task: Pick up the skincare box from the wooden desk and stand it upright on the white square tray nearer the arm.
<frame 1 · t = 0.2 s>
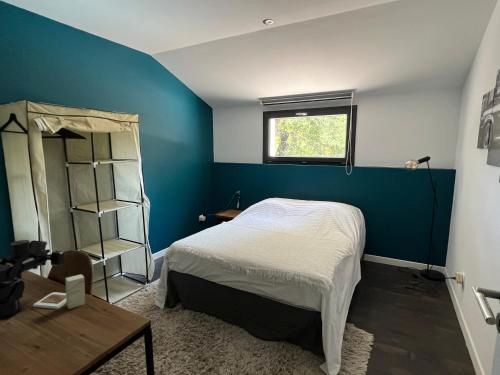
hand: (58, 251, 130), 17 cm above the table, tool horizontal, fingers open, 9 cm apart
white square tray: (55, 301, 117), on the table
skincare box: (76, 304, 115), on the table
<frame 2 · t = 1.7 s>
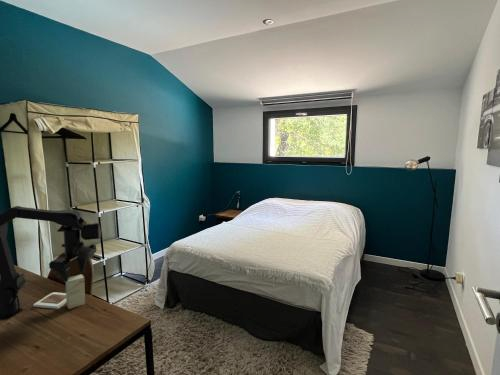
hand: (74, 276, 114), 13 cm above the table, tool pointing down, fingers open, 9 cm apart
nothing on the table moved.
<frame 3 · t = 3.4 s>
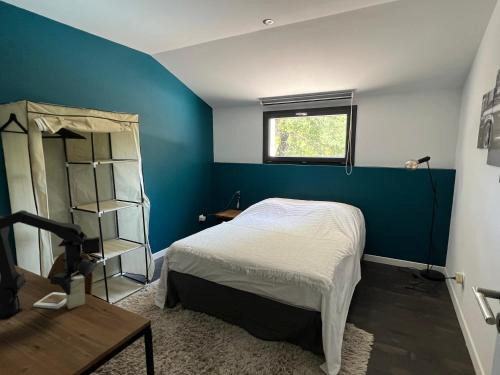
hand: (75, 290, 114), 7 cm above the table, tool pointing down, fingers closed on skincare box, 7 cm apart
skincare box: (76, 304, 115), on the table, touching gripper
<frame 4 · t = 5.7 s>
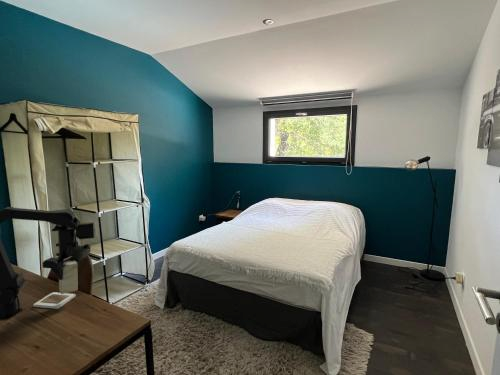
hand: (68, 275, 114), 13 cm above the table, tool pointing down, fingers closed on skincare box, 7 cm apart
skincare box: (68, 290, 115), point 6 cm above the table, touching gripper
when the fingers open (9 cm above the table, at t = 8.2 s): skincare box drops 1 cm, resting on white square tray.
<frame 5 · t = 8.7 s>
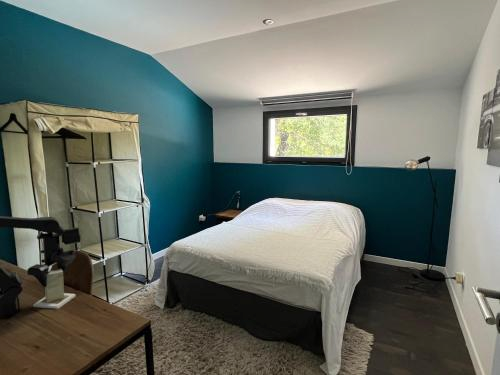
hand: (53, 281, 116), 9 cm above the table, tool pointing down, fingers open, 9 cm apart
skincare box: (55, 298, 117), point 1 cm above the table, touching white square tray
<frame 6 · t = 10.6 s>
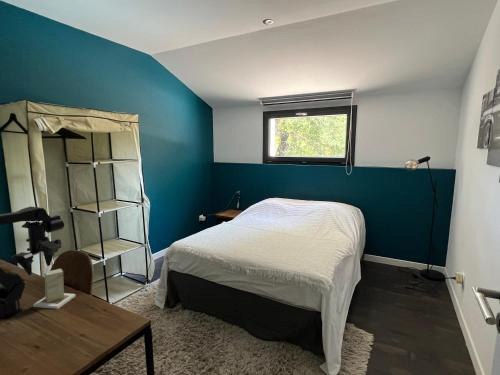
hand: (39, 270, 118), 13 cm above the table, tool pointing down, fingers open, 9 cm apart
nothing on the table moved.
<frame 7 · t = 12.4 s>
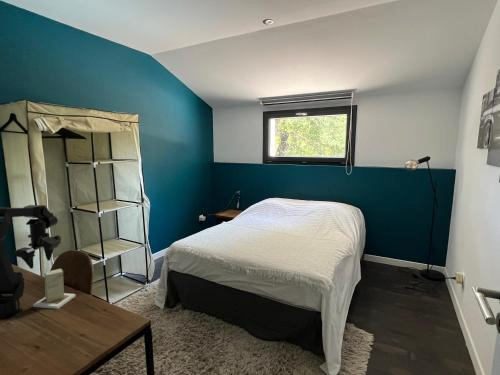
hand: (40, 264, 126), 12 cm above the table, tool pointing down, fingers open, 9 cm apart
nothing on the table moved.
at the end: skincare box 0.1 cm off-centre on the white square tray, point 1.1 cm above the white square tray's base; skincare box tilted 0°; the gripper is holding nothing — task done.
